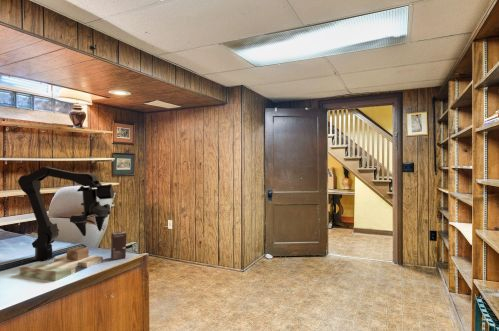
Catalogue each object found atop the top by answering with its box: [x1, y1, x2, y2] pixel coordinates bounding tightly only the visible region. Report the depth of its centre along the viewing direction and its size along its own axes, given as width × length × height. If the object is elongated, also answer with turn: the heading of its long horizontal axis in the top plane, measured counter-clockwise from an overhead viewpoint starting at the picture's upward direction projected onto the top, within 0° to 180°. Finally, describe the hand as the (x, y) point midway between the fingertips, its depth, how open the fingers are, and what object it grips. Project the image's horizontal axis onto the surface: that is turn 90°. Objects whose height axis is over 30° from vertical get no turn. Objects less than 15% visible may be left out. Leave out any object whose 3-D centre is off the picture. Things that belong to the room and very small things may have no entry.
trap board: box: [19, 253, 104, 282], centre depth 128 cm, size 18×24×4 cm
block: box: [66, 246, 90, 261], centre depth 135 cm, size 6×6×4 cm
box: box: [110, 230, 127, 261], centre depth 142 cm, size 6×4×12 cm
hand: (92, 233), depth 142 cm, fingers open, 9 cm apart
